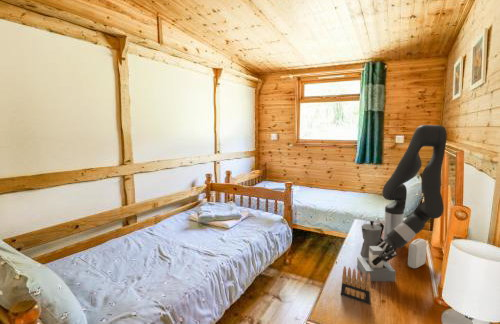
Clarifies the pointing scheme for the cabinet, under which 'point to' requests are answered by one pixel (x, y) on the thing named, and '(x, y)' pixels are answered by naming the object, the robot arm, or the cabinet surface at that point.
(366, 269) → the socket holder
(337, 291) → the cabinet surface
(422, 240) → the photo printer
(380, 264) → the connector plug
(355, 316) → the cabinet surface
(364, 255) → the coffeepot
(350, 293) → the ammunition clip
